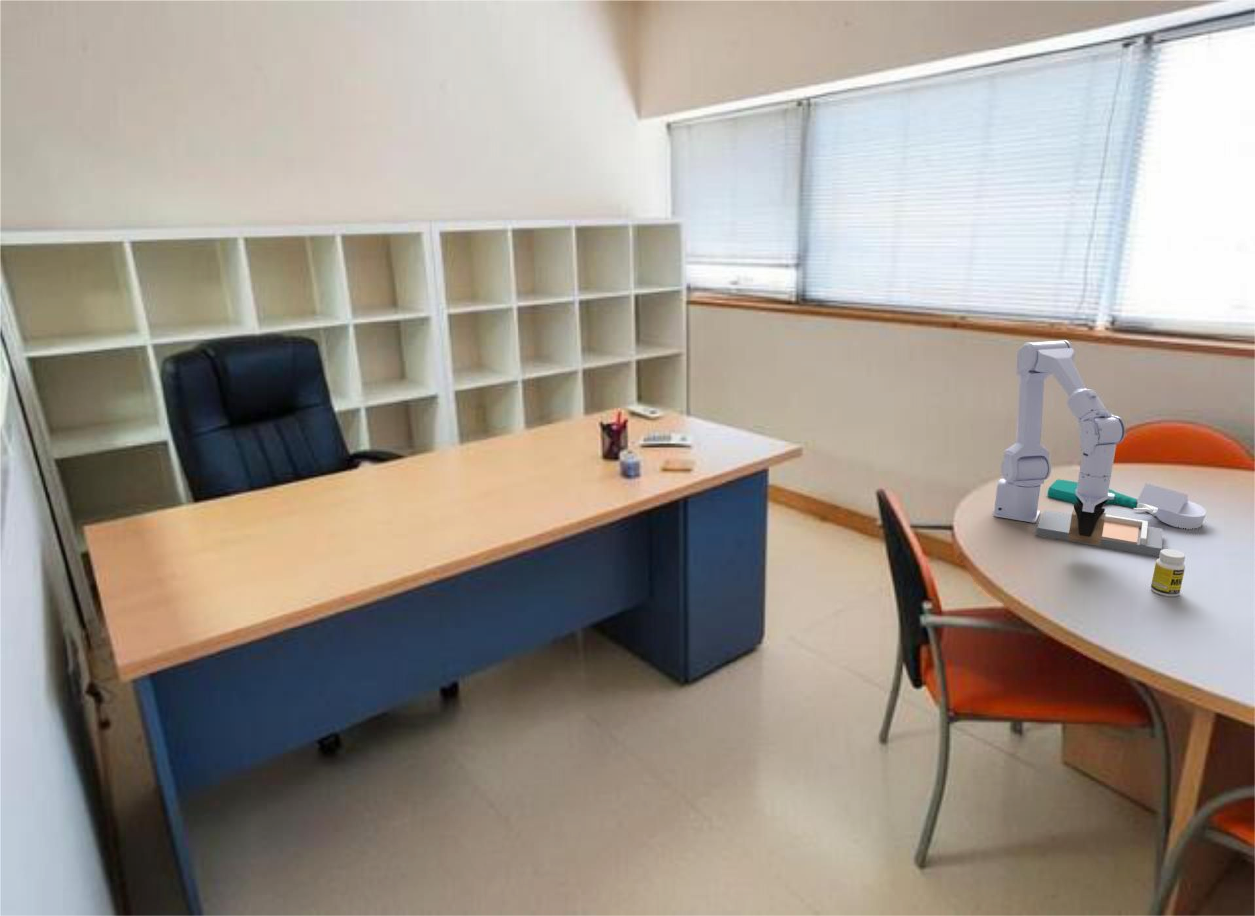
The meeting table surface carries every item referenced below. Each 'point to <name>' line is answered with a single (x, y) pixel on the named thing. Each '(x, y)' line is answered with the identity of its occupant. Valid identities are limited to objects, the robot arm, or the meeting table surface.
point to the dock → (1108, 533)
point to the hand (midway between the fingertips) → (1085, 531)
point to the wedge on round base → (1173, 507)
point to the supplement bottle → (1168, 573)
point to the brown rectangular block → (1093, 539)
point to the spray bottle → (1067, 493)
